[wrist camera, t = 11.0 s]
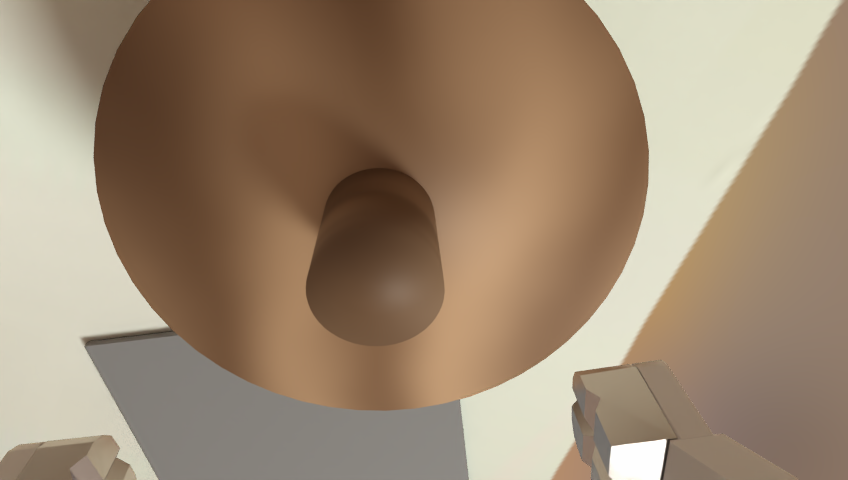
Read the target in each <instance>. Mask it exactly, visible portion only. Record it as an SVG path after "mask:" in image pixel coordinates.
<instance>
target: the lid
mask: <svg viewBox="0 0 848 480" xmlns="http://www.w3.org/2000/svg"><path fill="white" fill-rule="evenodd" d="M648 164H649V149H648V141H647V134H646V126H645V118H644V114H643V110H642V107H641V103H640V100H639V96H638V93H637V89H636V86H635V82H634V80H633V78H632V76H631V74H630V71H629V69H628V67H627V65H626V63H625V60H624V58H623V56H622V54H621V52H620V49H619V48H618V46H617V45H616V43H615V41H614V40H613V38H612V37H611V35H610V34H609V32H608V31H607V29H606V28H605V26H604V25H603V23H602V22H601V20H600V18H599V17H598V16H597V14H596V13H595V12H594V11H593V10H592V9H591V8H590V7H589V5H588V4H587V3H586V2H585V1H584V0H151V1H150V2H149V3H148V4H147V5H146V6H145V8H144V9H143V10H142V11H141V12H140V14H139V15H138V16H137V18H136V19H135V21H134V23H133V24H132V26H131V28H130V29H129V31H128V33H127V34H126V36H125V38H124V39H123V41H122V43H121V44H120V46H119V48H118V49H117V52H116V54H115V57H114V59H113V62H112V64H111V67H110V70H109V72H108V75H107V77H106V80H105V82H104V85H103V89H102V94H101V98H100V103H99V108H98V112H97V117H96V123H95V141H94V166H95V176H96V186H97V193H98V197H99V201H100V205H101V209H102V213H103V217H104V222H105V225H106V227H107V230H108V232H109V235H110V237H111V240H112V242H113V245H114V247H115V250H116V252H117V255H118V257H119V258H120V260H121V262H122V264H123V266H124V267H125V269H126V271H127V273H128V274H129V276H130V278H131V280H132V282H133V283H134V285H135V286H136V287H137V289H138V290H139V291H140V293H141V294H142V295H143V297H144V298H145V299H146V301H147V302H148V303H149V305H150V306H151V308H152V309H153V310H154V311H155V312H156V313H157V314H158V315H159V316H160V317H161V318H162V319H163V320H164V321H165V323H166V324H167V325H168V326H169V327H170V328H171V329H172V330H173V331H174V332H175V333H176V334H178V335H179V336H180V337H181V338H182V339H183V340H185V341H186V342H187V343H188V344H189V345H191V346H192V347H193V348H194V349H195V350H196V351H198V352H199V353H201V354H202V355H204V356H205V357H207V358H208V359H210V360H211V361H213V362H214V363H216V364H217V365H218V366H220V367H221V368H223V369H225V370H227V371H229V372H231V373H233V374H234V375H236V376H238V377H240V378H242V379H244V380H246V381H247V382H250V383H252V384H255V385H257V386H259V387H262V388H264V389H267V390H269V391H271V392H274V393H277V394H280V395H283V396H286V397H290V398H293V399H296V400H300V401H303V402H308V403H313V404H318V405H322V406H327V407H334V408H343V409H352V410H374V411H390V410H403V409H416V408H421V407H427V406H433V405H439V404H444V403H448V402H451V401H455V400H459V399H462V398H466V397H470V396H472V395H475V394H478V393H480V392H483V391H486V390H488V389H491V388H493V387H496V386H498V385H500V384H502V383H504V382H506V381H508V380H510V379H512V378H514V377H516V376H518V375H520V374H522V373H524V372H525V371H527V370H528V369H530V368H531V367H533V366H535V365H536V364H538V363H539V362H541V361H542V360H544V359H546V358H547V357H548V356H549V355H551V354H552V353H553V352H554V351H556V350H557V349H558V348H559V347H561V346H562V345H563V344H564V343H566V342H567V341H568V340H569V339H570V338H571V337H572V336H573V335H574V334H575V333H576V332H577V331H578V330H579V329H580V328H581V327H582V326H583V325H584V324H585V323H586V322H587V321H588V320H589V319H590V318H591V316H592V315H593V314H594V312H595V311H596V310H597V309H598V307H599V306H600V305H601V304H602V302H603V301H604V300H605V299H606V297H607V296H608V294H609V292H610V291H611V289H612V288H613V286H614V284H615V283H616V281H617V279H618V278H619V276H620V275H621V273H622V271H623V269H624V266H625V264H626V262H627V260H628V258H629V255H630V253H631V251H632V249H633V247H634V244H635V241H636V237H637V234H638V231H639V227H640V224H641V221H642V218H643V213H644V207H645V201H646V194H647V188H648Z"/></svg>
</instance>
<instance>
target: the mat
mask: <svg viewBox="0 0 848 480" xmlns="http://www.w3.org/2000/svg"><path fill="white" fill-rule="evenodd" d="M84 347H85V348H86V350H87V352H88V354H89V356H90V357H91V359H92V361H93V363H94V365H95V366H96V368H97V370H98V372H99V373H100V375H101V377H102V379H103V381H104V382H105V384H106V386H107V388H108V390H109V391H110V393H111V395H112V397H113V399H114V400H115V402H116V404H117V406H118V407H119V409H120V411H121V413H122V415H123V416H124V418H125V420H126V422H127V424H128V425H129V427H130V429H131V431H132V433H133V434H134V436H135V438H136V440H137V441H138V443H139V445H140V447H141V449H142V450H143V452H144V454H145V456H146V458H147V459H148V461H149V463H150V465H151V467H152V468H153V470H154V472H155V474H156V475H157V477H158V479H159V480H469V478H468V469H467V460H466V451H465V442H464V433H463V424H462V416H461V407H460V399H459V400H455V401H451V402H448V403H444V404H439V405H433V406H427V407H421V408H416V409H403V410H390V411H374V410H352V409H343V408H334V407H327V406H322V405H318V404H313V403H308V402H303V401H300V400H296V399H293V398H290V397H286V396H283V395H280V394H277V393H274V392H271V391H269V390H267V389H264V388H262V387H259V386H257V385H255V384H252V383H250V382H247V381H246V380H244V379H242V378H240V377H238V376H236V375H234V374H233V373H231V372H229V371H227V370H225V369H223V368H221V367H220V366H218V365H217V364H216V363H214V362H213V361H211V360H210V359H208V358H207V357H205V356H204V355H202V354H201V353H199V352H198V351H196V350H195V349H194V348H193V347H192V346H191V345H189V344H188V343H187V342H186V341H185V340H183V339H182V338H181V337H180V336H179V335H178V334H176V333H175V332H174V331H173V332H165V333H156V334H148V335H139V336H131V337H123V338H114V339H106V340H98V341H89V342H87V344H86V345H85V346H84Z"/></svg>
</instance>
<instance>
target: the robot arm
mask: <svg viewBox="0 0 848 480" xmlns="http://www.w3.org/2000/svg"><path fill="white" fill-rule="evenodd" d="M573 391H574V393H575V396H576V398H577V401H576V402H575V403H574V404H573V406H572V424H573V431H574V437H575V440H576V444H577V447H578V450H579V453H580V456H581V459H582V461H583V462H585V463H586V464H587V465H589V466H590V467H591V468H592V469H591V471H592V472H591V480H799V479H798V478H796V477H794V476H793V475H791V474H789V473H788V472H786V471H784V470H783V469H781V468H779V467H778V466H776V465H774V464H773V463H771V462H769V461H768V460H766V459H764V458H763V457H761V456H759V455H758V454H756V453H754V452H753V451H751V450H749V449H748V448H746V447H744V446H743V445H741V444H739V443H738V442H736V441H734V440H732V439H731V438H729V437H727V436H726V435H724V434H714V435H713V433H712V432H711V430H710V429H709V427H708V425H707V424H706V422H705V421H704V419H703V418H702V416H701V415H700V413H699V412H698V410H697V409H696V407H695V406H694V404H693V403H692V401H691V400H690V398H689V397H688V395H687V394H686V392H685V391H684V389H683V388H682V386H681V385H680V383H679V382H678V380H677V379H676V377H675V376H674V374H673V372H672V371H671V369H670V368H669V366H668V365H667V364H666V363H665V362H664V361H662V360H656V361H649V362H642V363H635V364H632V365H630V364H627V365H620V366H613V367H606V368H599V369H592V370H585V371H578V372H575V373H574V376H573ZM119 449H120V447H119V446H118V445H117V443H116V442H115V440H114V439H113V437H112V436H108V435H100V436H91V437H81V438H72V439H62V440H53V441H47V442H39V443H30V444H21V445H18V446H16V447H14V448H13V449H11V450H10V451H8V452H7V454H6V455H5V456H4V458H3V459H2V461H1V462H0V480H136V475H135V473H134V471H133V469H132V468H131V466H130V465H129V464H127V463H126V462H124V461H122V460H120V459H118V458H116V457H117V454H118V452H119Z"/></svg>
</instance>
